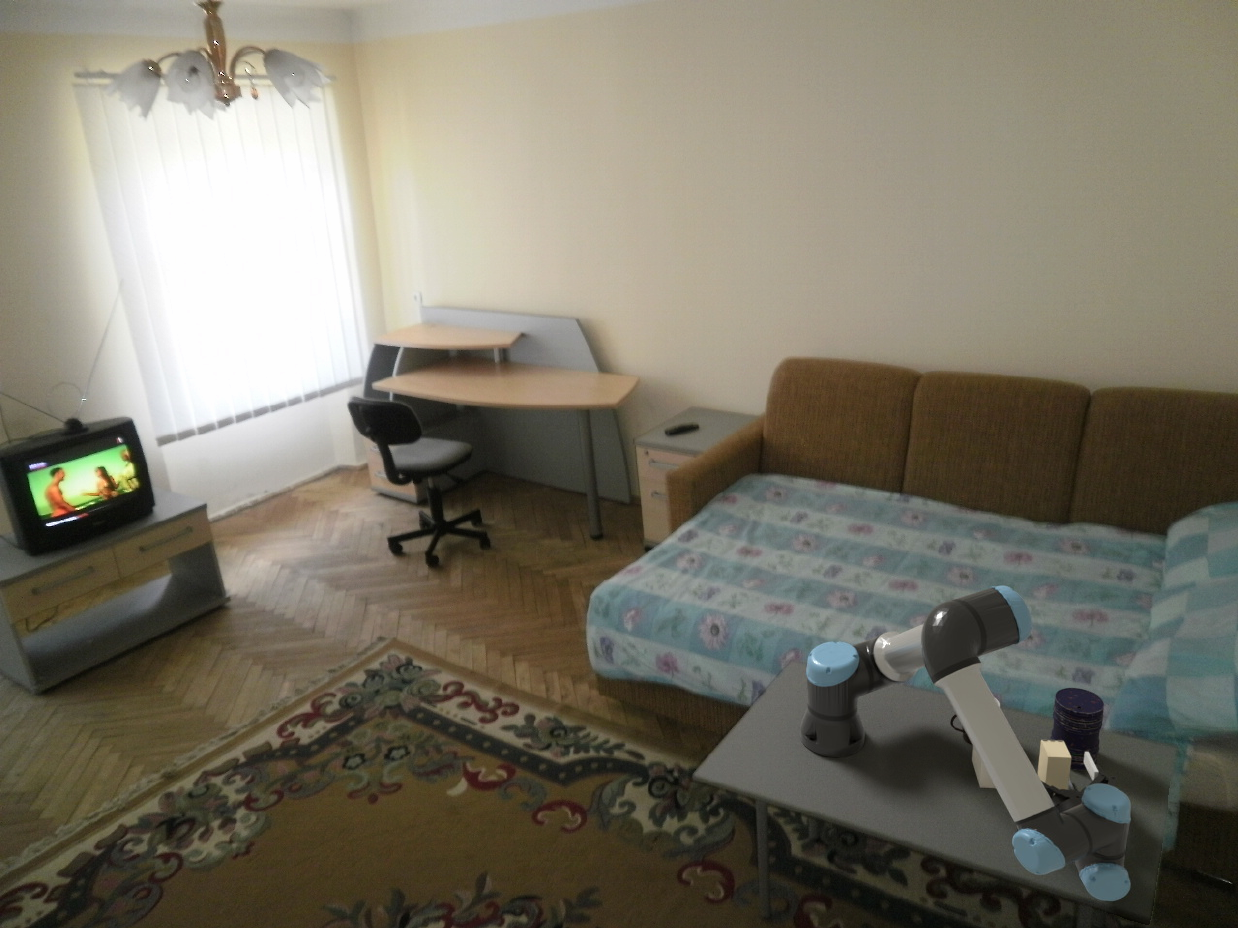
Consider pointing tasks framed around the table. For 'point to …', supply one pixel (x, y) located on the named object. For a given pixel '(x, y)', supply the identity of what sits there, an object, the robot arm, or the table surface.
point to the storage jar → (1078, 723)
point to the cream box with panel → (981, 771)
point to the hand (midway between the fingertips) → (1051, 755)
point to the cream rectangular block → (1054, 763)
